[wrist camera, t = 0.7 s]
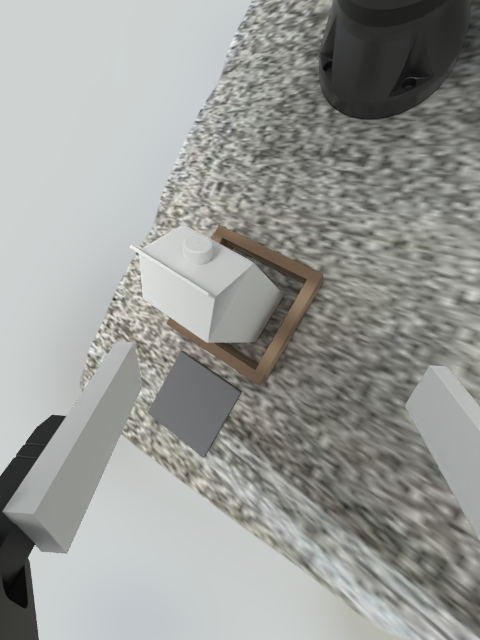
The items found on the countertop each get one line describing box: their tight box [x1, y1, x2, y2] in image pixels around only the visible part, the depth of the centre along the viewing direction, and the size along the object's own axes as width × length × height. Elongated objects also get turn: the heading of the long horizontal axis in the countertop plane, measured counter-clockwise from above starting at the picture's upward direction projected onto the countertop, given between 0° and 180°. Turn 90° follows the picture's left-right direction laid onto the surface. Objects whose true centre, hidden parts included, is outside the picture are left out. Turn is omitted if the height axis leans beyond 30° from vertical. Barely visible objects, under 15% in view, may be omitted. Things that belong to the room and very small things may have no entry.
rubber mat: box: [148, 351, 242, 458], centre depth 37 cm, size 10×10×1 cm
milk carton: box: [130, 225, 284, 343], centre depth 27 cm, size 7×7×19 cm
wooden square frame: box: [167, 225, 323, 385], centre depth 34 cm, size 14×15×4 cm
